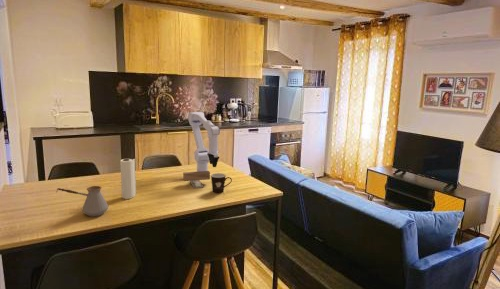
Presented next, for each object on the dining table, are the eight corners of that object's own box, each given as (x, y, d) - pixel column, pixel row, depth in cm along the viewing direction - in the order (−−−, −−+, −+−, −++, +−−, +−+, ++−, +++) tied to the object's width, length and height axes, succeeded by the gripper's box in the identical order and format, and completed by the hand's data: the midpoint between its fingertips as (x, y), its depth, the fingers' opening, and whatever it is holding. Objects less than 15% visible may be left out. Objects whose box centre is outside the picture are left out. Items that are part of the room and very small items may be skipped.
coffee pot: (106, 207, 166) (105, 178, 163) (110, 215, 157) (108, 185, 154) (58, 214, 156) (55, 184, 153) (58, 224, 146) (55, 192, 143)
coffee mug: (208, 192, 192) (208, 176, 190) (214, 188, 200) (214, 172, 198) (226, 195, 189) (227, 178, 187) (232, 190, 197) (232, 174, 195)
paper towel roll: (121, 199, 177) (119, 161, 172) (122, 195, 182) (120, 158, 178) (135, 198, 179) (134, 160, 174) (136, 194, 184) (134, 158, 180)
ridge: (189, 181, 211) (189, 176, 211) (199, 180, 214) (199, 175, 213) (193, 188, 199) (193, 183, 198) (203, 187, 201) (203, 182, 200)
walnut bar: (183, 179, 205) (183, 172, 204) (208, 177, 210) (208, 170, 209) (184, 181, 201) (184, 174, 200) (209, 179, 206) (209, 172, 205)
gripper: (222, 147, 206) (221, 168, 208) (216, 142, 219) (216, 162, 222) (211, 147, 203) (211, 168, 206) (206, 143, 217) (206, 162, 219)
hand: (213, 165), depth 214 cm, fingers open, 7 cm apart
